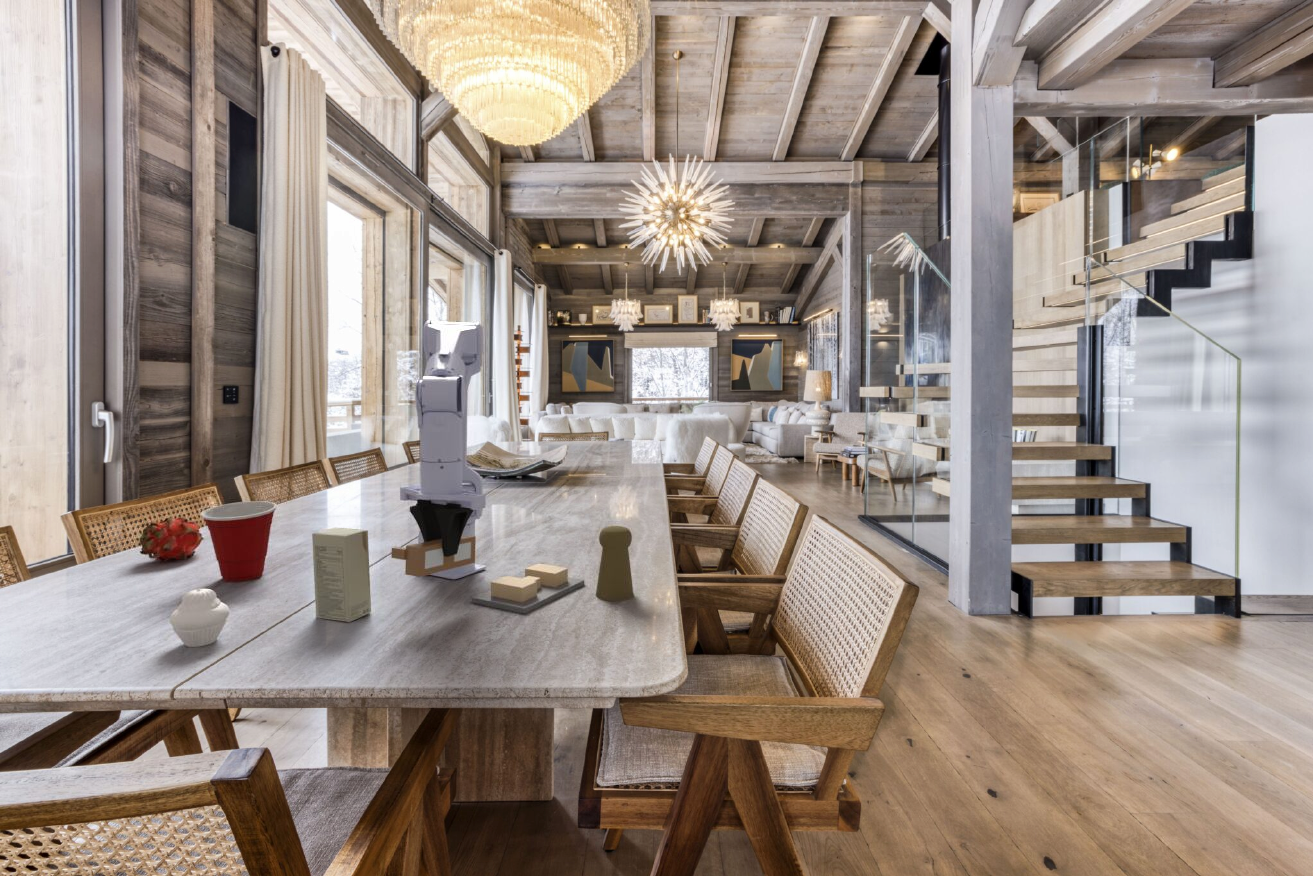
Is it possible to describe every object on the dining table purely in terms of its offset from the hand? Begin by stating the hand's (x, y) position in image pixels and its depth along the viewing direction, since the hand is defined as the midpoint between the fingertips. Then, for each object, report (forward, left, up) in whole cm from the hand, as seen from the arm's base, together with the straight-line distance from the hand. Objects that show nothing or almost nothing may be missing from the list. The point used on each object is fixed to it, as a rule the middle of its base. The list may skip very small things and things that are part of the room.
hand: (442, 553), depth 94 cm
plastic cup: (-41, -4, -9) cm, 42 cm away
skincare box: (-11, -8, -9) cm, 16 cm away
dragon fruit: (-63, -3, -9) cm, 64 cm away
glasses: (-1, 0, -2) cm, 2 cm away
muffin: (-18, -23, -9) cm, 31 cm away
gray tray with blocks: (+6, +13, -9) cm, 17 cm away
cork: (+18, +19, -9) cm, 28 cm away
